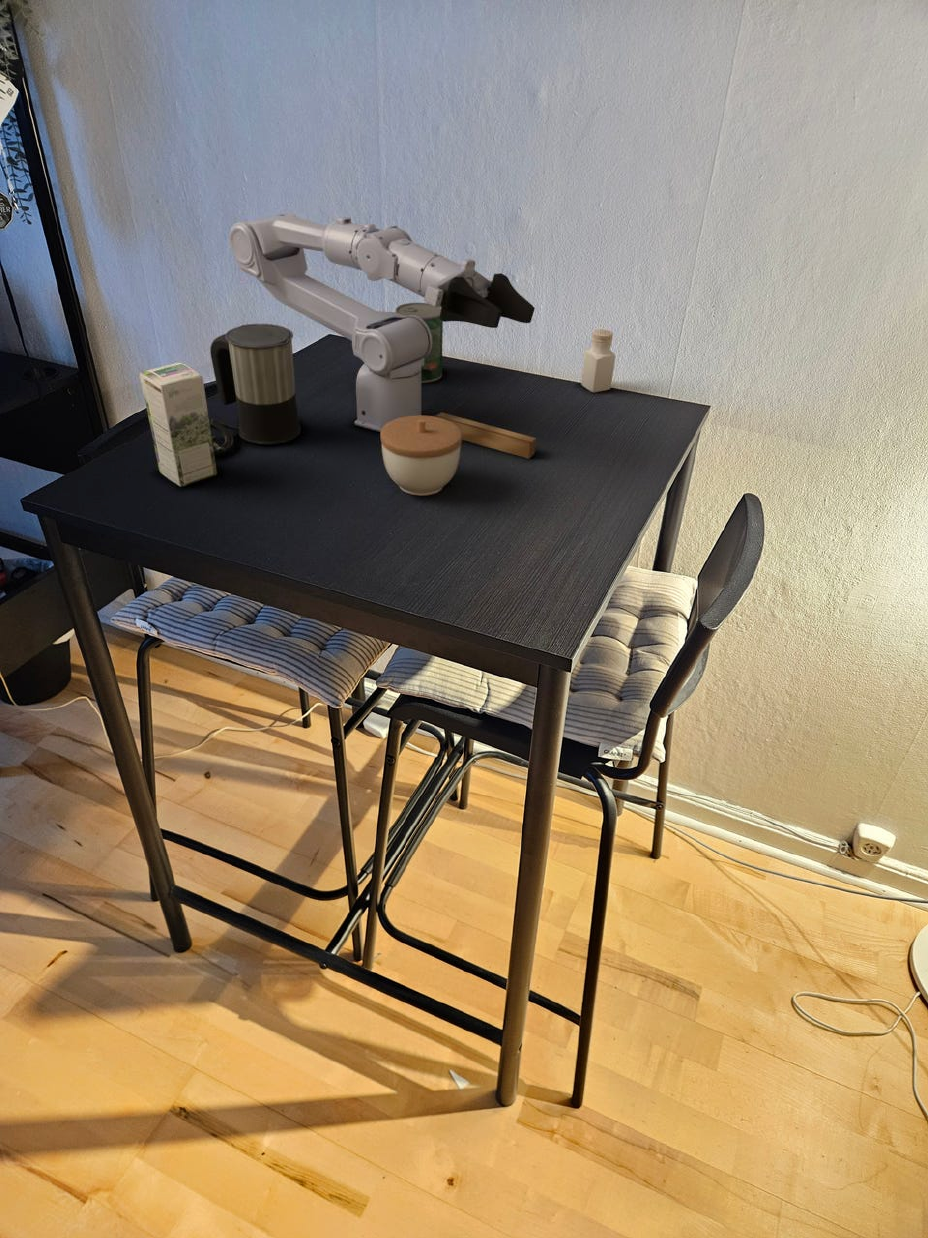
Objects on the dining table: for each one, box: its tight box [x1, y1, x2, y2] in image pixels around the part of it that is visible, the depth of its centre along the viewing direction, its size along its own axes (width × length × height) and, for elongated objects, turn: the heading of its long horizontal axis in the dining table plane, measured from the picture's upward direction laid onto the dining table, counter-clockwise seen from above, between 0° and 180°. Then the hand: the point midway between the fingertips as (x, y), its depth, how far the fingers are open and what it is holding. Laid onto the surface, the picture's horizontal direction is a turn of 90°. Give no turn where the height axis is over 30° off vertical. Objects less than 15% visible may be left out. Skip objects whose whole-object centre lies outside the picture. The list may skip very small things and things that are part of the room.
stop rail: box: [434, 412, 537, 459], centre depth 124 cm, size 16×2×3 cm, turn 60°
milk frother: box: [209, 323, 302, 456], centre depth 118 cm, size 14×16×15 cm
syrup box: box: [139, 361, 218, 488], centre depth 110 cm, size 6×6×14 cm
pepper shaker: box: [580, 328, 616, 393], centre depth 140 cm, size 4×4×10 cm
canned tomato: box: [395, 302, 444, 384], centre depth 141 cm, size 8×8×11 cm
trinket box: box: [379, 414, 463, 496], centre depth 111 cm, size 11×11×9 cm
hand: (515, 317), depth 106 cm, fingers open, 7 cm apart
